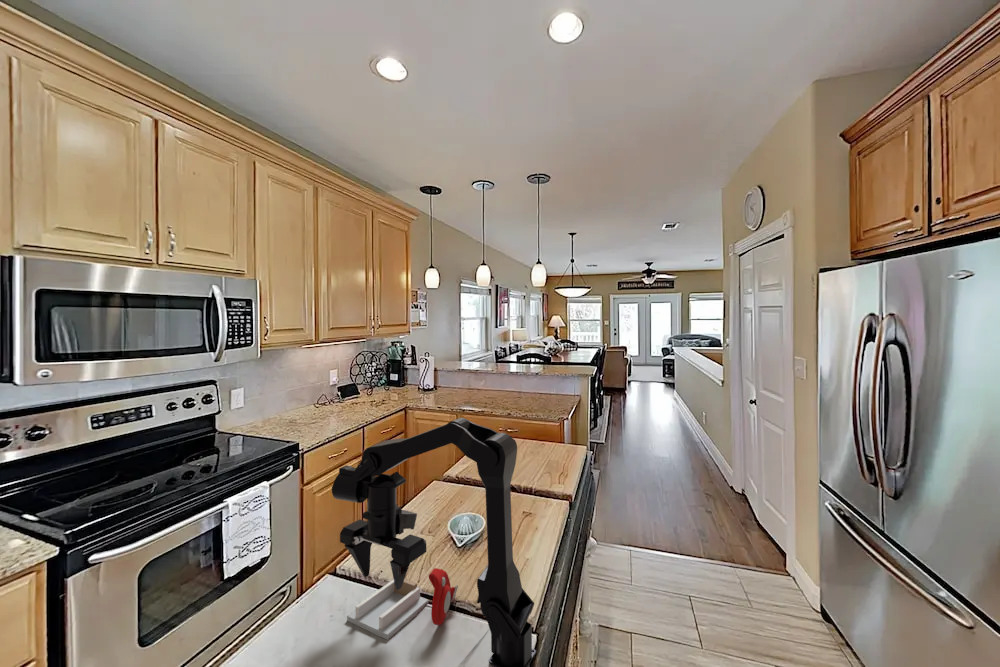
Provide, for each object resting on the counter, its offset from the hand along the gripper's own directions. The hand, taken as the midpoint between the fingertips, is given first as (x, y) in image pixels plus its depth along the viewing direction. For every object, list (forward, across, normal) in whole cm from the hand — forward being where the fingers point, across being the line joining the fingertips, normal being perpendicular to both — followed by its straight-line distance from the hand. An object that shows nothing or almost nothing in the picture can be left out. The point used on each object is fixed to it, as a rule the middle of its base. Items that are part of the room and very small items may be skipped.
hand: (382, 582), depth 87 cm
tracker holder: (+7, -10, -6) cm, 14 cm away
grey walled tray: (+7, 0, -2) cm, 7 cm away
